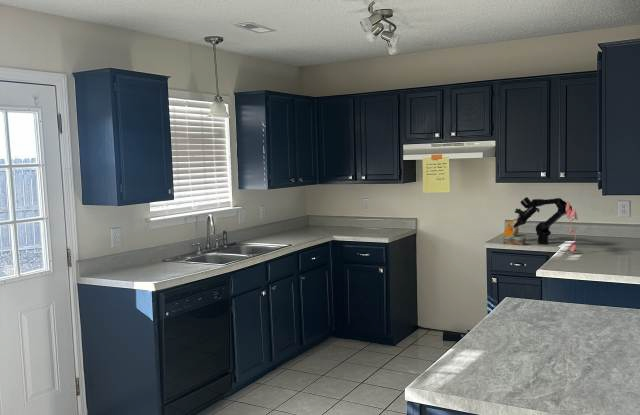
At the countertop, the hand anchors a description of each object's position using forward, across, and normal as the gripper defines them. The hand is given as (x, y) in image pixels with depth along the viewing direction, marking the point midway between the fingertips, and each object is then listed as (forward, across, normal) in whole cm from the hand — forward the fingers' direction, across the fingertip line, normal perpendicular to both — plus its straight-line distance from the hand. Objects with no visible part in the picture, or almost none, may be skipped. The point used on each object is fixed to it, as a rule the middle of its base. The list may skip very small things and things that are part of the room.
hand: (513, 226), depth 459 cm
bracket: (+10, -23, +6) cm, 25 cm away
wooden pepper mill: (+4, 0, +6) cm, 7 cm away
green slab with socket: (+7, +11, +9) cm, 15 cm away
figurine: (-16, +40, +32) cm, 54 cm away
